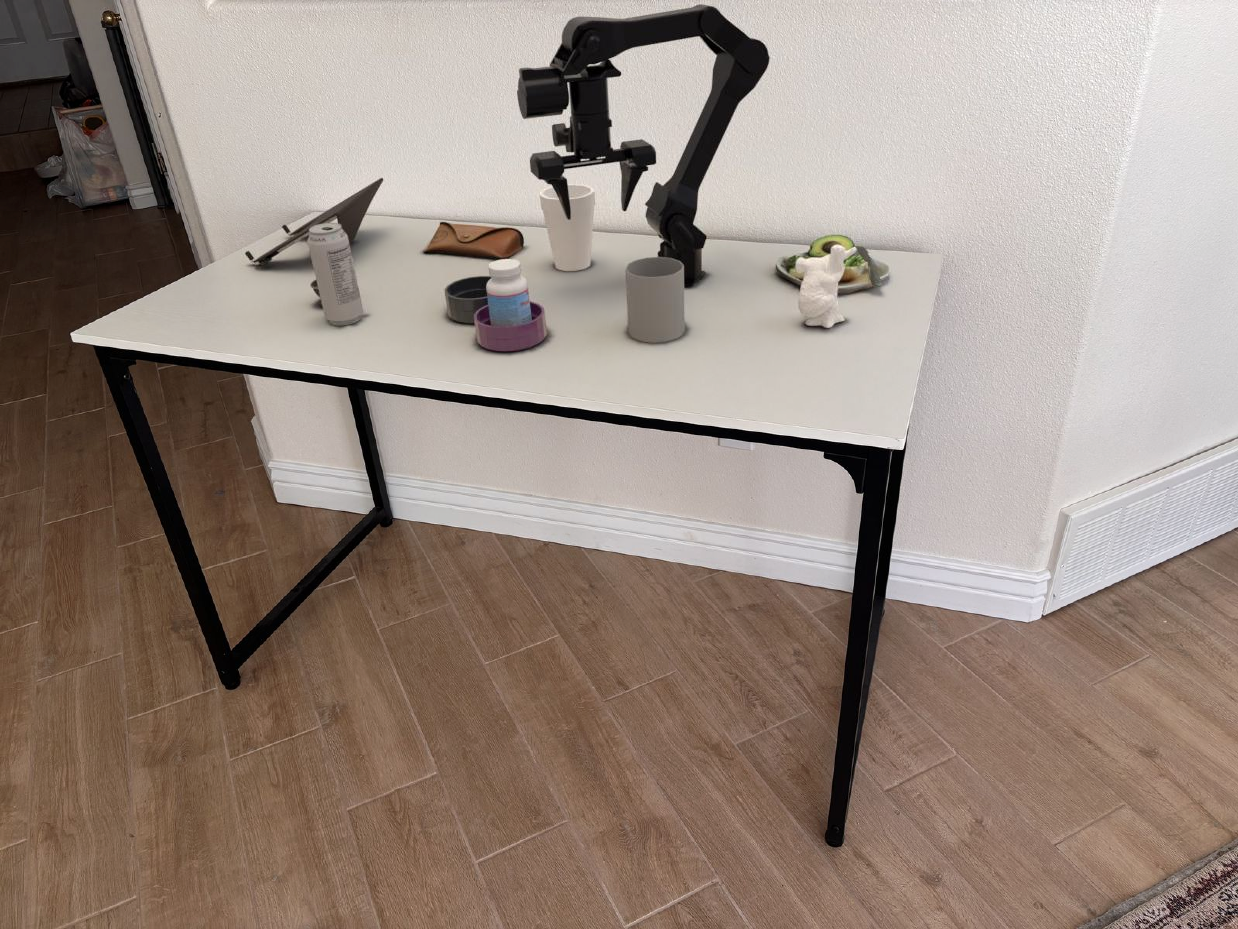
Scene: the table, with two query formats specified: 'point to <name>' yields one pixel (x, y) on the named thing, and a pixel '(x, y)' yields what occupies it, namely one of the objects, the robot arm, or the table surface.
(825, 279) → the white figurine
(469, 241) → the sunglasses case
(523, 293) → the pill bottle
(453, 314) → the charcoal bowl
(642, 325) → the cup
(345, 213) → the laptop stand
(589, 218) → the foam cup
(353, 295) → the energy drink can
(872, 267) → the salad plate
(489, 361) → the table surface
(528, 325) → the plum bowl
